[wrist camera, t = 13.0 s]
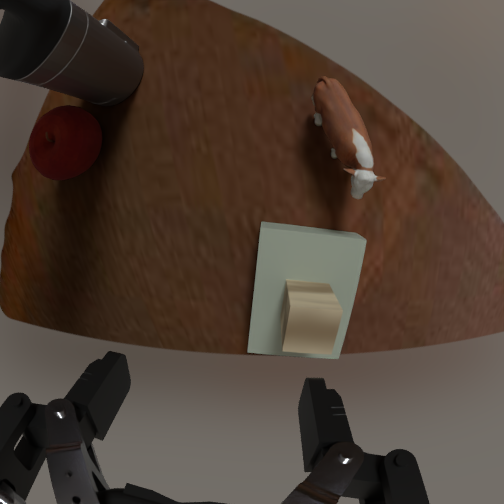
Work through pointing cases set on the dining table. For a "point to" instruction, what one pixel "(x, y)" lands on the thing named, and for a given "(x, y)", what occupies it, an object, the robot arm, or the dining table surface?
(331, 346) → the maple block
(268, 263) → the plinth
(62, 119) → the apple
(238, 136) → the dining table surface
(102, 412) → the robot arm
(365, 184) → the bull figurine
